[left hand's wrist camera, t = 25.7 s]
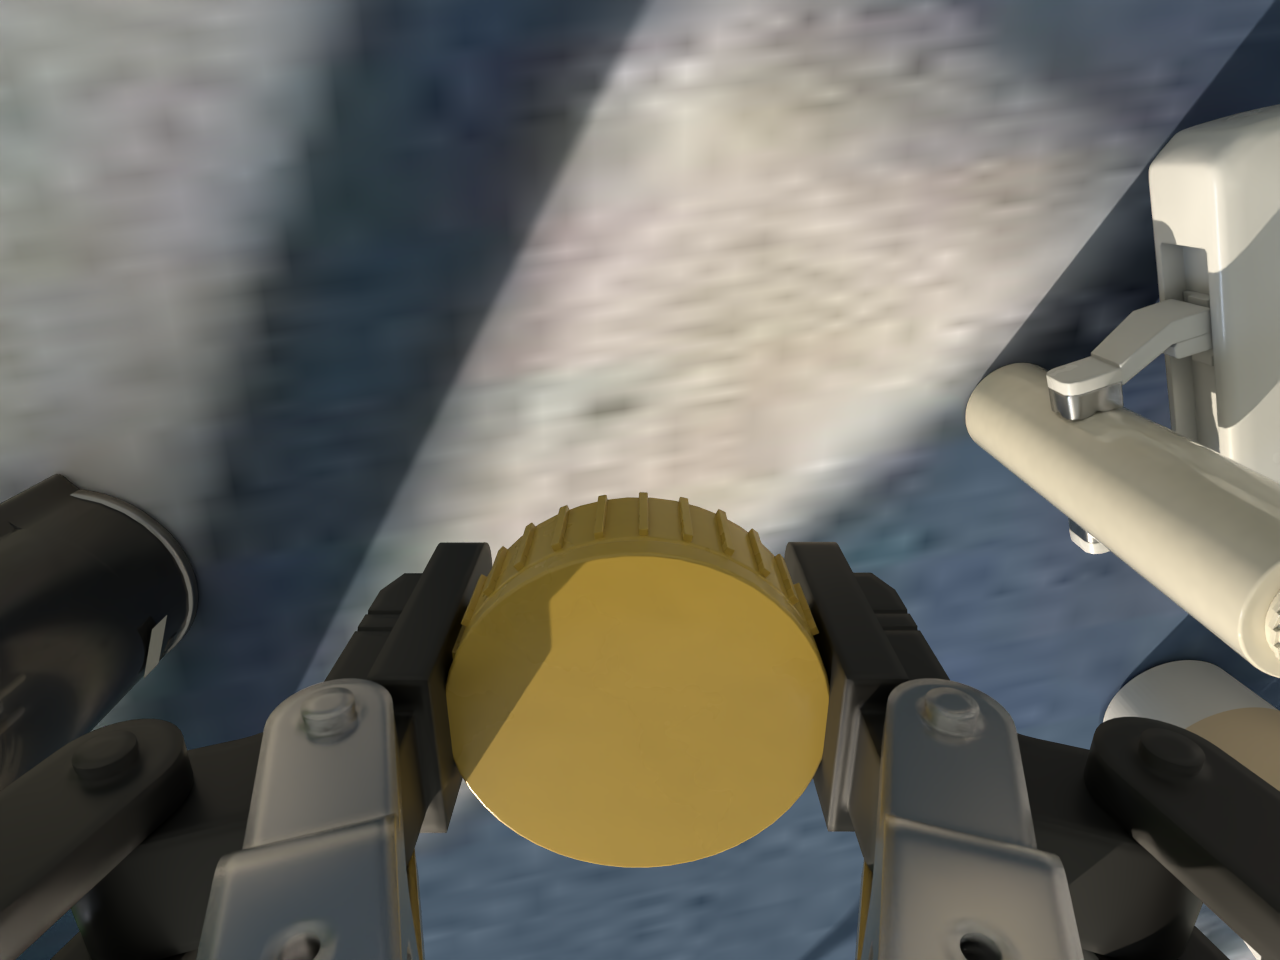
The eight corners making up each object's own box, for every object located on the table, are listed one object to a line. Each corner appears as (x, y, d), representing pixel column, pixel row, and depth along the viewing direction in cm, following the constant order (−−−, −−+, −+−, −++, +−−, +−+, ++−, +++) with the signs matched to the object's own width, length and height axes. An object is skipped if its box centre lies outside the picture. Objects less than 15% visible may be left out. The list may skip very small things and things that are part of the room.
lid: (421, 524, 10) (382, 586, 9) (790, 459, 10) (817, 512, 8) (513, 802, 12) (494, 894, 10) (827, 756, 11) (855, 845, 10)
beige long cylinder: (1002, 471, 35) (1338, 747, 18) (945, 410, 34) (1249, 645, 17) (1079, 407, 34) (1513, 639, 17) (1024, 342, 33) (1431, 523, 16)
